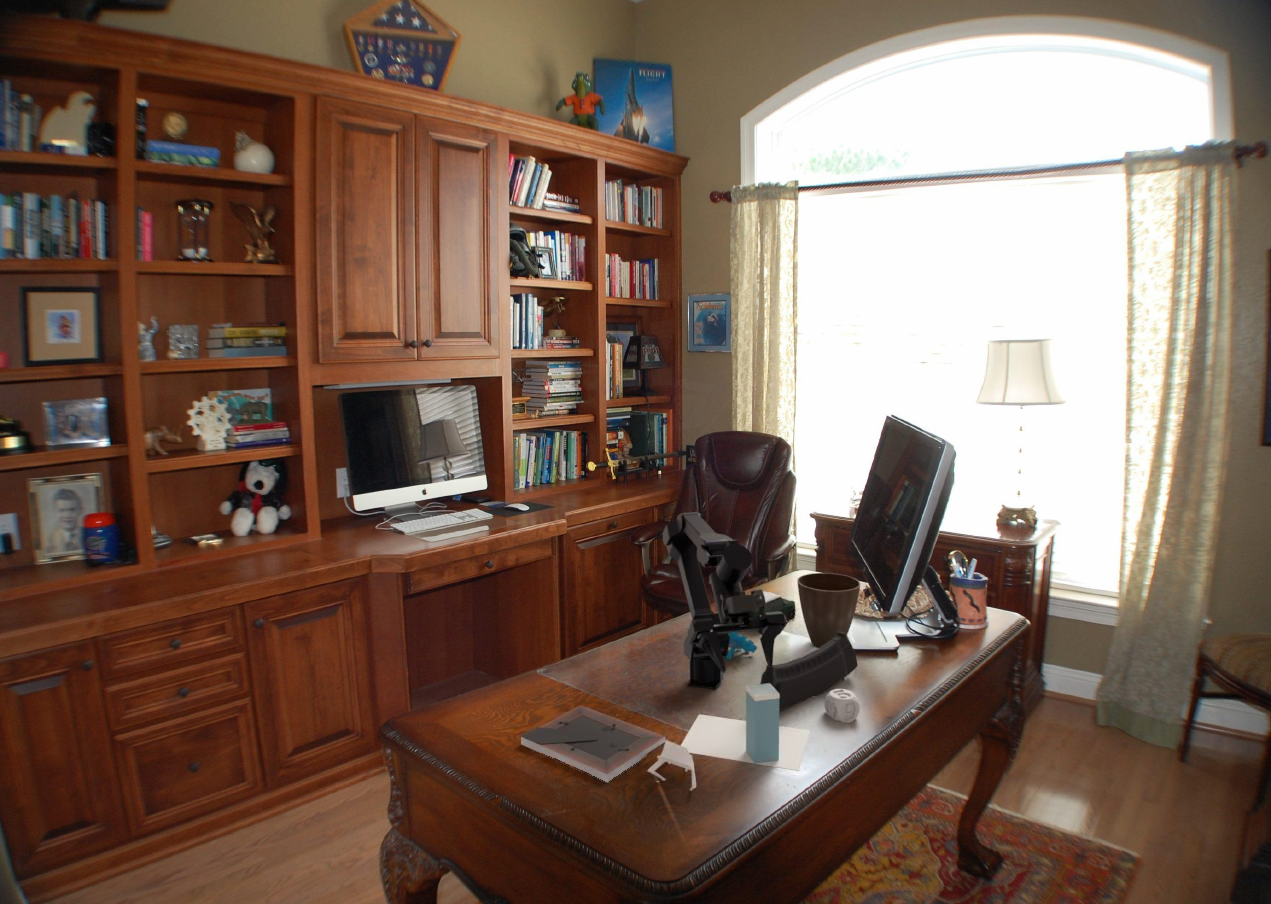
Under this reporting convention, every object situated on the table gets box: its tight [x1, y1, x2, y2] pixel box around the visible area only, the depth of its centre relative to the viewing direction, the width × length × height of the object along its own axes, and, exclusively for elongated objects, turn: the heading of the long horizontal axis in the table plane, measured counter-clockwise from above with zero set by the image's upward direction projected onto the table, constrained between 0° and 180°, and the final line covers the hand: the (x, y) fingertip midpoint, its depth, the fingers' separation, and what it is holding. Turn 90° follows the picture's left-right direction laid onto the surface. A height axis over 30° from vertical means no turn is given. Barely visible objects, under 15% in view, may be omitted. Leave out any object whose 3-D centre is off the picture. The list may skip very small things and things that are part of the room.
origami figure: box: [646, 739, 697, 792], centre depth 138 cm, size 12×8×5 cm
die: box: [823, 688, 861, 724], centre depth 160 cm, size 5×5×5 cm
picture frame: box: [520, 704, 666, 784], centre depth 151 cm, size 16×2×22 cm
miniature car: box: [750, 591, 797, 621], centre depth 214 cm, size 9×18×8 cm, turn 136°
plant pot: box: [797, 572, 861, 649], centre depth 197 cm, size 15×15×16 cm
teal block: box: [745, 683, 780, 764], centre depth 144 cm, size 4×4×12 cm
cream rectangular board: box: [680, 713, 811, 771], centre depth 151 cm, size 22×15×1 cm
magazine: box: [760, 631, 858, 712], centre depth 169 cm, size 17×3×30 cm
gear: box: [726, 632, 758, 660], centre depth 191 cm, size 11×6×10 cm
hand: (747, 669), depth 151 cm, fingers open, 9 cm apart
